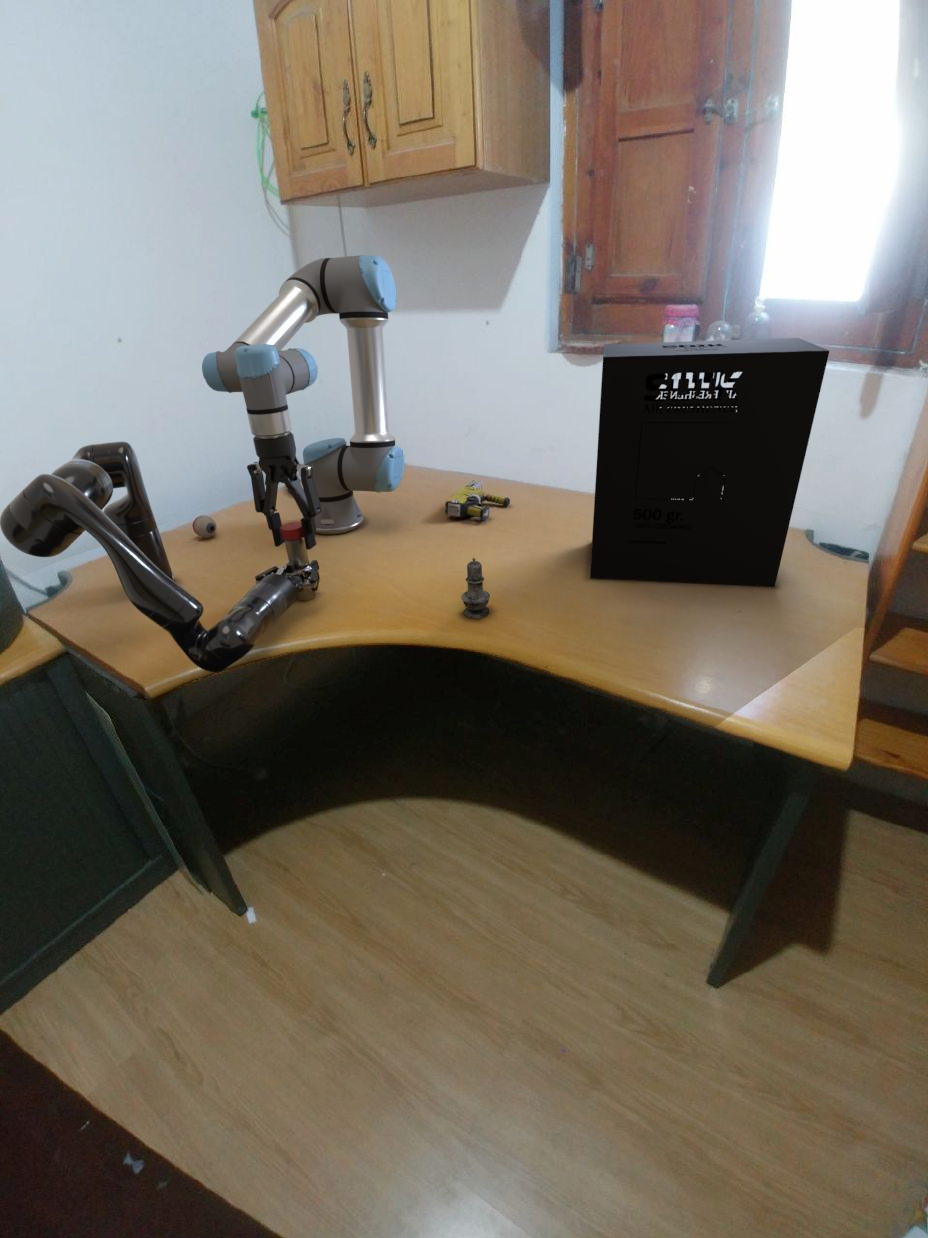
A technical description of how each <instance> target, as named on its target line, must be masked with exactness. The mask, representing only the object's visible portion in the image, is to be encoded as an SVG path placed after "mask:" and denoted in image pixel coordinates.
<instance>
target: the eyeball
mask: <svg viewBox="0 0 928 1238" xmlns="http://www.w3.org/2000/svg"><path fill="white" fill-rule="evenodd" d="M192 529H193V532H194V533H195V534H196V535H197V536H198V537H201V538H210V537H212V536H214V535H215V533H216V531H217V523H216V521H215V520H214V519H213V518H212V517H211V516H208V515H204V514H203V515H199V516H197V517H196V518H195V519H194V520H193V521H192Z"/></svg>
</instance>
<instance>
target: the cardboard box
mask: <svg viewBox="0 0 928 1238" xmlns="http://www.w3.org/2000/svg"><path fill="white" fill-rule="evenodd" d="M829 356H830V350H829V349H827V348H824V347H822V346H819V345H817V344H815V343H813V342H809V341H808V340H804V339H802V338H799V337H787V338H786V337H785V338H756V339H755V338H753V339H751V338H750V339H724V340H691V341H689V340H688V341H661V342H631V343H604V344H603V353H602V368H601V385H600V386H601V387H600V399H599V400H600V402H599V416H598V417H599V419H598V434H597V436H598V437H597V452H596V467H595V468H596V470H595V487H594V502H593V503H594V504H593V521H592V535H591V536H592V538H591V554H590V569H589V571H590V572H589V578H590V579H600V580H625V581H647V582H665V583H666V582H667V583H668V582H669V583H688V584H689V583H691V584H692V583H693V584H714V585H735V586H755V587H756V586H757V587H759V586H760V587H776V583H777V579H778V575H779V572H780V571H779V570H780V566H781V562H782V557H783V553H784V549H785V545H786V541H787V536H788V532H789V528H790V523H791V519H792V514H793V510H794V506H795V502H796V497H797V493H798V489H799V485H800V480H801V475H802V473H803V472H802V471H803V467H804V464H805V457H806V454H807V449H808V446H809V441H810V437H811V433H812V428H813V425H814V419H815V415H816V411H817V407H818V403H819V398H820V395H821V390H822V385H823V381H824V376H825V373H826V368H827V363H828V360H829ZM735 373H740V374H739V376H738V377H733V375H734V374H735ZM676 374H680V378H678V381H677V387H674V386H675V385H674V384H675V378H673V377H674V375H676ZM687 374H692V378H691V384H694V385H693V387H689V385H690V378H687ZM701 374H703V378H700V376H701ZM718 374H719V378H718ZM722 377H723V382H722ZM717 379H718V383H717ZM722 383H723V384H727V383H729V384H731V383H733V384H732V387H731V386H730V387H726V386H725V387H724V386H723V385H722ZM703 384H708V387H702V385H703ZM662 386H665V387H664V388H663V387H662ZM661 387H662V388H661Z"/></svg>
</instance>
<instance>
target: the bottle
mask: <svg viewBox="0 0 928 1238" xmlns="http://www.w3.org/2000/svg"><path fill="white" fill-rule="evenodd" d="M284 541H285V542H284V545H285V550H286V555H287V559H288V563H289V564H290V569H291V574H292V573H293V572H295V571H297V570H298V569H301V570H303V569H304V568H306V567H307V566H308V565H309V564H310V559H309V554H308V549H306V545H305V540H304V537H303V538H301V539H298V540H291V541H288V540H284ZM306 577H307V573H306ZM316 595H317V594H316V591H312V590H311V588H304V590H303V591H302V592H299V593H298V594H297V596H296V599H297V600H298V601H300V602H307V601H311V600H313V599H315V598H316Z"/></svg>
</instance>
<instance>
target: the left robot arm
mask: <svg viewBox="0 0 928 1238" xmlns="http://www.w3.org/2000/svg"><path fill="white" fill-rule="evenodd" d="M121 488H126V494H125V495H124V496H122V497H121V498H118V500H115V501H112V502H111V503H109V502H110V501H111V499H112V497H113V494H114V493H113V492H114V489H121ZM0 530H1V533H2V534H3V536H4V538H5V539H6V540H7V542H8V543H9V544H11V545H12V546H13V547H14V548H15V549H16V550H18V551H20V552H22V553H24V554H27V555H28V556H29V555H30V556H32V557H37V558H52V557H56V556H58V555H60V554H62V553H63V552H65V551H66V550H67V549H69V548H70V546H71V545H72V544H73V543H74V542H75V541H76V540H77V539H78V538H80V536H81V535H82V534H83V533H84V532H87V533H88V534H89V535H90V536H92V537H93V538H94V539H95V540H96V541H97V542H98V543H99V545H100V546H101V547H102V548H103V550H104V551H105V552H106V554H107V555H108V557H109V559H110V561H111V563H112V565H113V568H114V570H115V572H116V574H117V577H118V579H119V582H120V585H121V587H122V589H123V591H124V593H125V595H126V597H127V599H128V600H129V602H130V603H131V605H133V606H134V607H135V608H136V610H137V611H139V612H140V613H141V614H142V615H144V616H145V617H147V619H149V620H151V622H153V623H154V624H156V625H158V626H159V627H160V628H161V629H162V630H163V631H165V632H167V633H168V635H170V637H171V638H172V639H173V641H174V642H175V643H176V644H177V646H178V647H179V648H180V650H181V651H182V652H183V653H184V654H185V655H186V657H187V658H188V659H189V660H190V661H191V663H193V664H194V665H195V666H196V667H198V668H199V669H201V670H204V671H206V672H209V673H220V672H223V671H225V670H226V669H227V668H230V667H231V666H232V665H234V664H235V663H236V662H238V661H240V660H241V659H243V658H244V657H245V656H246V655H248V654H249V652H250V651H251V650H252V649H253V648H254V647H255V646H256V644H257V643H258V641H259V639H260V638H261V636H262V635H263V634H264V633H265V632H266V631H267V630H268V628H270V627H271V625H273V624H274V623H275V622H277V621H278V620H279V619H280V618H281V617H282V616H283V615H284V614H285V612H286V611H287V610H289V608H290V607H291V606H292V605H293V604H294V603H295V602H296V599H297V597H296V596H297V594H298V593H299V592H302V591H303V590H304V588H311V590H312V591H315V592H317V591H318V589H319V585H320V581H321V577H320V572H319V571H320V564H319V562H318V560H317V559H313V560H311V562H309V565H308V566H307V567H306V568H304V569H303V570H301V569H298V570H297V571H295V572H293V573H292V574H291V569H290V564H289V562H287V563H286V564H284V565H281V566H280V567H278V566H277V565H275V566H272V567H270V568H268V569H266V570H264V571H262V572H260V573H259V574H257V575H255V576H254V578H255V583H256V584H255V585H253V587H252V588H250V590H249V591H248V592H247V593H246V594H245V595H244V597H242V599H240V600H239V602H237V604H235V605H234V606H233V607H232V608H231V609H230V610H229V611H228V613H227V615H226V616H225V617H224V618H222V619H220V621H218V622H217V623H216V624H215V625H213V626H212V627H211V628H209V629H208V630H207V629H206V628H205V626H204V625H203V624H202V623H201V617H202V616H203V613H204V606H203V604H202V603H201V601H199V600H198V599H197V598H196V597H195V596H194V595H192V594H191V593H189V592H188V591H187V590H186V589H185V588H184V587H182V586H181V585H180V584H179V583H177V581H176V579H175V573H174V572H173V570H172V568H171V564H170V562H169V559H168V558H169V557H168V555H167V552H166V549H165V546H164V542H163V540H162V537H161V535H160V531H159V528H158V524H157V521H156V518H155V516H154V513H153V509H152V505H151V503H150V499H149V496H148V493H147V490H146V487H145V483H144V479H143V475H142V471H141V468H140V464H139V461H138V456H137V454H136V452H135V450H134V448H133V446H132V445H131V444H130V443H129V442H127V441H123V440H122V441H121V440H119V441H111V442H103V443H101V442H100V443H95V444H94V443H93V444H88V445H87V444H86V445H85V446H81V447H80V448H79V449H77V451H76V452H75V453H74V455H73V457H72V458H71V459H70V460H68V461H67V462H66V463H64V464H62V465H61V466H59V467H58V468H56V469H55V470H53V471H52V473H42V474H39V475H37V476H36V477H35V478H34V479H33V480H31V482H29V483H28V484H27V485H26V486H25V487H24V488H23V489H22V490H21V491H20V492H19V493H18V494H17V495H16V496H15V497H14V498H13V499H12V500H11V501H10V502H9V503H8V504H7V506H6V507H5V508H4V509H3V510H2V512H1V514H0ZM306 573H307V577H306Z"/></svg>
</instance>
